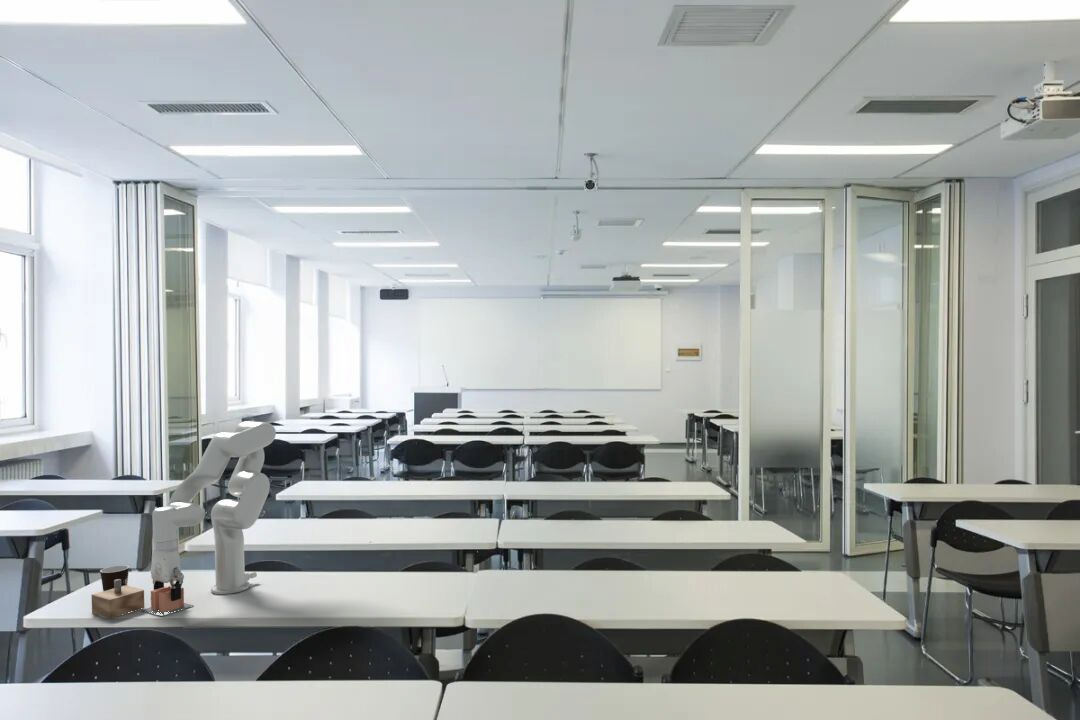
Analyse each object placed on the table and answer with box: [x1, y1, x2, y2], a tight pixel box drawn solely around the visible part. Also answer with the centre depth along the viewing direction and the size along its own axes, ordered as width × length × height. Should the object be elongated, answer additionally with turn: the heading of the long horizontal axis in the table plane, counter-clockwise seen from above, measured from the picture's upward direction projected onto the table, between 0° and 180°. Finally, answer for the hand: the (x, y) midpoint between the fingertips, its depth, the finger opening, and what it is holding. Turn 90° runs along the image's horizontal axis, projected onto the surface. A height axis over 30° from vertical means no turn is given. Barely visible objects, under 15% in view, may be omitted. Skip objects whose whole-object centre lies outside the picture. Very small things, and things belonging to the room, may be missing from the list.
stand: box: [91, 579, 145, 620], centre depth 240 cm, size 11×11×10 cm
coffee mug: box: [99, 564, 130, 592], centre depth 254 cm, size 12×9×10 cm
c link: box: [150, 584, 185, 613], centre depth 240 cm, size 7×7×6 cm
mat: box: [141, 602, 194, 615], centre depth 240 cm, size 11×11×1 cm
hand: (167, 597), depth 240 cm, fingers open, 9 cm apart
